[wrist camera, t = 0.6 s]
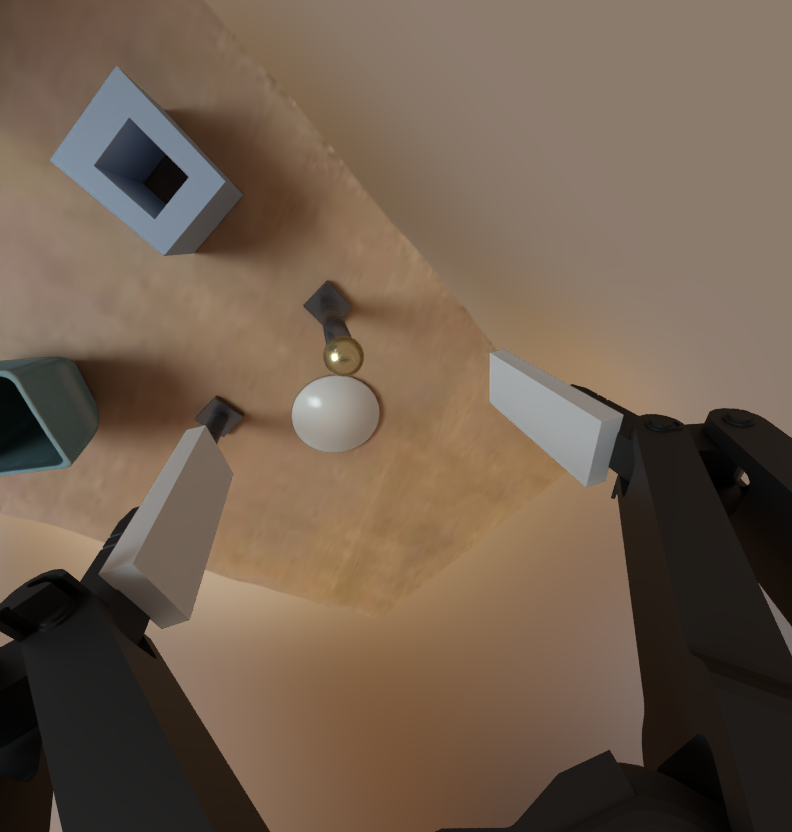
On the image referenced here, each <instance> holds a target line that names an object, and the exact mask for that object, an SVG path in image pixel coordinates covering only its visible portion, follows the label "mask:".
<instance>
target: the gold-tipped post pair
mask: <svg viewBox="0 0 792 832" xmlns="http://www.w3.org/2000/svg"><path fill="white" fill-rule="evenodd" d="M304 307H305V308H306V309H307V310H308V311H309V312H310V313H311V314H312V315H313V316H314V317H315V318H316V319H317V320H318V321H319V322H320V323H321V324H322V325H323V329H324V335H325V341H326V346H325V348H324V352H323V359H324V363H325V365H326V367H327V368H328V369H329V371H330V372H332V373H333V374H335V375H337V376H342V377H347V376H351V375H353V374H355V373H356V372H358V371H359V369H360V368H361V366H362V364H363V361H364V353H363V349H362V347H361V345H360V344H359V343H358V342H357V341H356V340H355V339H353V338H352V337H351V335H350V333H349V331H348V328H347V326H346V324H345V322H344V320H343V317H344V316H345V315H346V314H347V313H348V312H349V311H350V310H351V309H352V307H351V306H350V304H349V303H348V302H347V301H346V300H345V299H344V298H343V297H342V296H341V295H340V294H339V293H338V291H337V290H336V289H335V288H334V287H333V286H332V285H331V284H330V283H329V282H328V281H326V282H325V283H324V284H323V285H322V286H321V287H320V288H319V289H318V290H317V292H316V293H315V294H314V295H313V296H312V297H311V298H310V299H309V300H308V301H307V302H306V303H305V304H304ZM243 417H244V414H243V413H242V412H240V411H239V410H237V409H236V408H234V407H233V406H231V405H230V404H228V403H227V402H225V401H224V400H222V399H221V398H219V397H218V396H216V397H215V398H214V399H213V400H212V401H211V402H210V403H209V404H208V405H207V406H206V407H205V408H204V409H203V410H202V411H201V412H200V413H199V415H198V416H197V417H196V418H195V420H196V421H197V422H199V423H201V424H202V425H206V427H207V429H208V430H209V432H210V434H211V435H212V437H213V439H214V441H215V442H216V444H217V443H218V441H219V439H220V437H221V436H222V437H224V436H225V435H226V434H227V433H228V432H229V431H230V430H231V429H232V428H233V427H234V426H235V425H236V424H237V423H238V422H239V421H240V420H241V419H242V418H243Z"/></svg>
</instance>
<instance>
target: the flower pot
mask: <svg viewBox="0 0 792 832" xmlns="http://www.w3.org/2000/svg"><path fill="white" fill-rule="evenodd" d="M98 423H99V414H98V408H97V404H96V402H95V400H94V398H93V396H92V394H91V392H90V390H89V389H88V387H87V385H86V383H85V381H84V379H83V377H82V375H81V373H80V371H79V369H78V367H77V366H76V364H75V363H74V362H73V361H71V360H69V359H66V358H62V357H44V358H31V359H18V360H4V361H0V476H6V475H13V474H21V473H30V472H39V471H47V470H55V469H63V468H67V467H70V466H71V465H72V464H73V463H74V461H75V460H76V459H77V458H78V456H79V455H80V454H81V452H82V451H83V450H84V449H85V447H86V446H87V445H88V443H89V442H90V441H91V439H92V438H93V436H94V435H95V433H96V431H97V428H98Z"/></svg>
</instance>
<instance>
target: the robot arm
mask: <svg viewBox="0 0 792 832" xmlns="http://www.w3.org/2000/svg"><path fill="white" fill-rule="evenodd" d="M490 403H491V404H492V405H493V406H494V407H496V408H497V409H498V410H499V411H500V412H501V413H502V414H503V415H505V416H506V417H507V418H508V419H509V420H510V421H511V422H513V423H514V424H515V425H516V426H517V427H518V428H519V429H520V430H522V431H523V432H524V433H525V434H526V435H527V436H528V437H530V438H531V439H532V440H533V441H534V442H535V443H536V444H537V445H539V446H540V447H541V448H542V449H543V450H544V451H545V452H547V453H548V454H549V455H550V456H551V457H552V458H553V459H554V460H556V461H557V462H558V463H559V464H560V465H561V466H562V467H564V468H565V469H566V470H567V471H568V472H569V473H570V474H572V475H573V476H574V477H575V478H576V479H577V480H578V481H579V482H581V483H582V484H583V485H584V486H585V487H589V486H591V485H595V484H598V483H601V482H604V481H605V480H606V477H607V473H608V469H609V468H611V469H612V470H613V471H615V472H616V473H617V474H618V476H617V479H616V482H615V486H614V489H613V493H612V496H611V498H613V499H615V497H616V494H617V495H618V503H619V510H620V519H621V526H622V534H623V542H624V549H625V557H626V565H627V573H628V580H629V588H630V596H631V604H632V611H633V619H634V626H635V634H636V642H637V650H638V658H639V665H640V673H641V681H642V689H643V696H644V721H643V727H642V753H643V763H644V767H642V766H639V765H633V764H627V763H617V762H616V760H615V758H614V756H613V755H612V753H611V751H610V750H608V751H606V752H604V753H602V754H599V755H597V756H595V757H593V758H591V759H589V760H587V761H585V762H582V763H581V764H578V765H576V766H574V767H572V768H570V769H568V770H565V771H564V772H561V773H559V774H558V775H557V776H556V777H555V778H554V779H553V780H552V782H551V783H550V784H549V785H548V786H547V788H546V789H545V790H544V791H543V792H542V793H541V794H540V795H539V797H538V798H537V799H536V800H535V801H534V802H533V804H532V805H531V806H530V807H529V808H528V809H527V811H526V812H525V813H524V814H523V815H522V816H521V817H520V818H519V820H518V821H517V822H516V823H515V824H514V825H512V826H510V827H507V828H457V829H456V828H453V829H452V828H451V829H440V830H438V831H436V832H792V656H791V653H790V651H789V649H788V647H787V645H786V643H785V640H784V638H783V636H782V634H781V632H780V629H779V627H778V625H777V623H776V621H775V618H774V616H773V614H772V612H771V610H770V608H769V605H768V603H767V601H766V599H765V597H764V595H763V592H762V590H761V588H760V586H759V584H760V585H761V586H762V588H763V589H764V591H765V592H766V593H767V595H768V596H769V597H770V599H771V600H772V601H773V602H774V604H775V605H776V606H777V608H778V609H779V610H780V612H781V613H782V614H783V616H784V617H785V618H786V619H787V621H788V622H789V623H790V625H791V626H792V438H791V437H789V436H788V435H787V434H785V433H784V432H783V431H781V430H780V429H778V428H777V427H775V426H774V425H773V424H772V423H770V422H769V421H767V420H766V419H764V418H762V417H761V416H759V415H756V414H753V413H750V412H748V411H745V410H740V409H727V408H722V409H715V410H712V411H710V412H709V414H708V416H707V419H706V421H705V423H702V424H687V425H684V424H683V423H681V422H680V421H678V420H676V419H674V418H671V417H667V416H663V415H657V414H646V415H641V416H638V415H636V414H634V413H632V412H630V411H628V410H627V409H625V408H623V407H621V406H619V405H617V404H615V403H613V402H611V401H610V400H606V398H604V397H602V396H600V395H597V394H596V393H594V392H593V391H591V390H589V389H587V388H584V387H580V386H577V385H573V384H572V385H568V384H567V383H565V382H563V381H561V380H559V379H558V378H556V377H554V376H552V375H550V374H549V373H547V372H545V371H543V370H541V369H540V368H538V367H536V366H534V365H532V364H530V363H529V362H527V361H525V360H523V359H521V358H520V357H518V356H516V355H514V354H512V353H511V352H509V351H507V350H505V349H503V350H499V351H495V352H491V353H490ZM744 472H745V473H746V474H747V475H748V478H749V481H750V484H749V485H747V484H745V483H744V482H743V481H742V479H741V477H742V475H743V473H744ZM232 477H233V472H232V470H231V468H230V466H229V465H228V463H227V461H226V460H225V458H224V456H223V454H222V453H221V451H220V449H219V448H218V446H217V444H216V442H215V441H214V439H213V437H212V435H211V434H210V432H209V430H208V429H207V427H206V425H204V426H200V427H196V428H192V429H188V430H186V432H185V433H184V435H183V437H182V438H181V440H180V441H179V443H178V445H177V446H176V448H175V450H174V451H173V453H172V454H171V456H170V458H169V459H168V461H167V463H166V464H165V466H164V468H163V469H162V471H161V472H160V474H159V476H158V477H157V479H156V481H155V482H154V484H153V486H152V487H151V489H150V490H149V492H148V494H147V495H146V497H145V499H144V500H143V502H142V503H141V505H140V507H136V508H133V509H132V510H131V511H130V512H129V513H128V514H127V515H126V516H125V517H124V518H123V519H122V520H121V521H119V523H118V524H117V526H116V527H115V529H114V530H113V532H112V533H111V535H110V538H108V540H107V541H106V543H105V544H104V546H103V550H101V551H100V552H99V553H98V555H97V556H96V558H95V560H94V561H93V563H92V564H91V566H90V567H89V569H88V571H87V572H86V573H85V575H84V576H83V578H82V580H81V581H80V582H79V581H78V580H77V579H75V578H74V577H73V576H72V575H70V574H69V573H68V572H67V571H65V570H63V569H57V570H56V569H55V570H51V571H48V572H45V573H43V574H40V575H38V576H37V577H35V578H33V579H31V580H29V581H28V582H26V583H24V584H23V585H22V586H20V587H19V588H18V589H16V590H15V591H14V592H12V593H11V594H10V595H9V596H8V597H7V598H6V599H5V600H4V601H3V602H2V603H0V631H1V632H2V633H4V634H6V635H7V636H9V637H11V638H13V639H14V640H13V641H11V642H9V643H7V644H5V645H4V646H2V647H0V832H49V829H50V819H51V808H52V798H53V791H54V796H55V800H56V804H57V808H58V813H59V817H60V822H61V826H62V831H63V832H270V831H269V829H268V828H267V826H266V824H265V823H264V821H263V820H262V818H261V816H260V815H259V813H258V811H257V810H256V808H255V807H254V805H253V803H252V802H251V800H250V799H249V797H248V795H247V794H246V792H245V791H244V789H243V787H242V786H241V784H240V782H239V781H238V779H237V778H236V776H235V775H234V773H233V771H232V769H231V768H230V766H229V765H228V764H227V761H226V760H225V758H224V757H223V755H222V753H221V752H220V751H219V749H218V747H217V745H216V744H215V742H214V740H213V739H212V737H211V736H210V734H209V732H208V731H207V729H206V727H205V726H204V724H203V723H202V721H201V719H200V718H199V716H198V715H197V713H196V711H195V710H194V708H193V706H192V705H191V703H190V702H189V700H188V698H187V697H186V696H185V694H184V692H183V690H182V689H181V687H180V686H179V684H178V682H177V681H176V679H175V677H174V676H173V674H172V673H171V671H170V669H169V668H168V666H167V665H166V663H165V661H164V660H163V658H162V656H161V655H160V653H159V652H158V650H157V648H156V647H155V645H154V644H153V642H152V640H151V639H150V638H149V637H148V636H146V635H145V634H144V632H145V630H146V627H147V625H148V622H149V620H150V619H151V620H152V621H153V622H154V623H155V624H156V625H158V626H159V627H160V628H161V629H164V628H166V627H169V626H172V625H175V624H178V623H182V622H184V621H188V620H190V617H191V614H192V611H193V607H194V604H195V601H196V597H197V594H198V590H199V587H200V584H201V580H202V577H203V574H204V570H205V567H206V564H207V560H208V557H209V554H210V550H211V547H212V544H213V540H214V537H215V534H216V530H217V527H218V524H219V520H220V517H221V514H222V510H223V507H224V504H225V500H226V497H227V494H228V490H229V487H230V484H231V480H232Z"/></svg>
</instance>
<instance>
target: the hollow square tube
mask: <svg viewBox="0 0 792 832" xmlns="http://www.w3.org/2000/svg"><path fill="white" fill-rule="evenodd" d="M165 155H167V156H168V157H169V158H170V159H171V160H172V161H173V162H174V163H175V164H176V165H177V166H178V167H179V168H180V169H181V170H182V171H183V172H184V173H185V174H186V175H187V176H188V177H189V178H188V179H187V180H186V181H185V183H184V184H183V185H182V186H181V188H180V189H179V190H178V191H177V193H176V194H175V195H174V196H173V197H172V199H171V200H170V201H169V202H168V204H167V205H166V204H165V203H164V202H163V201H162V200H160V199H159V198H158V197H157V196H156V195H155V194H154V193H153V192H152V191H151V190H150V189H148V188H147V187H146V186H145V185H144V184H143V183H144V182H145V181H146V180H147V178H148V177H149V176H150V174H151V173H152V172H153V171H154V169H155V168H156V167H157V165H158V164H159V163H160V162H161V160H162V159H163V158H164V156H165ZM50 161H51V162H52V163H53V164H55V165H56V166H57V167H58V168H59V169H61V170H62V171H63V172H64V173H65V174H67V175H68V176H69V177H70V178H71V179H73V180H74V181H75V182H76V183H77V184H79V185H80V186H81V187H82V188H83V189H84V190H86V191H87V192H88V193H89V194H90V195H92V196H93V197H94V198H95V199H96V200H98V201H99V202H100V203H101V204H102V205H104V206H105V207H106V208H107V209H108V210H110V211H111V212H112V213H113V214H114V215H116V216H117V217H118V218H119V219H120V220H122V221H123V222H124V223H125V224H126V225H128V226H129V227H130V228H131V229H132V230H134V231H135V232H136V233H137V234H138V235H140V236H141V237H142V238H143V239H144V240H146V241H147V242H148V243H149V244H150V245H151V246H153V247H154V248H155V249H156V250H157V251H159V252H160V253H161V254H162V255H163V256H168V255H180V254H192V253H195V251H196V250H197V249H198V248H199V247H200V246H201V244H202V243H203V242H204V241H205V240H206V238H207V237H208V236H209V235H210V234H211V233H212V231H213V230H214V229H215V228H216V227H217V226H218V224H219V223H220V222H221V221H222V220H223V218H224V217H225V216H226V215H227V214H228V213H229V211H230V210H231V209H232V208H233V207H234V206H235V204H236V203H237V202H238V201H239V200H240V198H241V197H242V196H243V194H242V193H241V192H240V191H239V190H238V189H237V187H236V186H235V185H234V184H233V183H232V182H231V181H230V180H229V179H228V178H227V177H226V176H225V175H224V174H223V172H222V171H221V170H220V169H219V168H218V167H217V166H216V165H215V164H214V163H213V162H212V161H211V160H210V159H209V158H208V156H207V155H206V154H205V153H204V152H203V151H202V150H201V149H200V148H199V147H198V146H197V145H196V144H195V143H194V141H193V140H192V139H191V138H190V137H189V136H188V135H187V134H186V133H185V132H184V131H183V130H182V129H181V128H180V126H179V125H178V124H177V123H176V122H175V121H174V120H173V119H172V118H171V117H170V116H169V115H168V114H167V113H166V111H165V110H164V109H163V108H161V107H160V106H159V105H158V104H157V103H156V102H155V101H154V100H153V99H152V98H151V97H150V96H149V95H147V94H146V93H145V92H144V91H143V90H142V89H141V88H140V87H139V86H138V85H137V84H136V83H135V82H133V81H132V80H131V79H130V78H129V77H128V76H127V75H126V74H125V73H124V72H123V71H122V70H121V69H119V68H118V67H117V66H116V67H115V68H114V70H113V71H112V72H111V74H110V75H109V77H108V78H107V80H106V81H105V82H104V84H103V85H102V87H101V88H100V89H99V91H98V92H97V94H96V95H95V97H94V98H93V99H92V101H91V102H90V104H89V105H88V106H87V108H86V109H85V111H84V112H83V114H82V115H81V116H80V118H79V119H78V121H77V122H76V124H75V125H74V126H73V128H72V129H71V131H70V132H69V133H68V135H67V136H66V138H65V139H64V141H63V142H62V143H61V145H60V146H59V148H58V149H57V151H56V152H55V153H54V155H53V156H52V158H51V159H50Z"/></svg>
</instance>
